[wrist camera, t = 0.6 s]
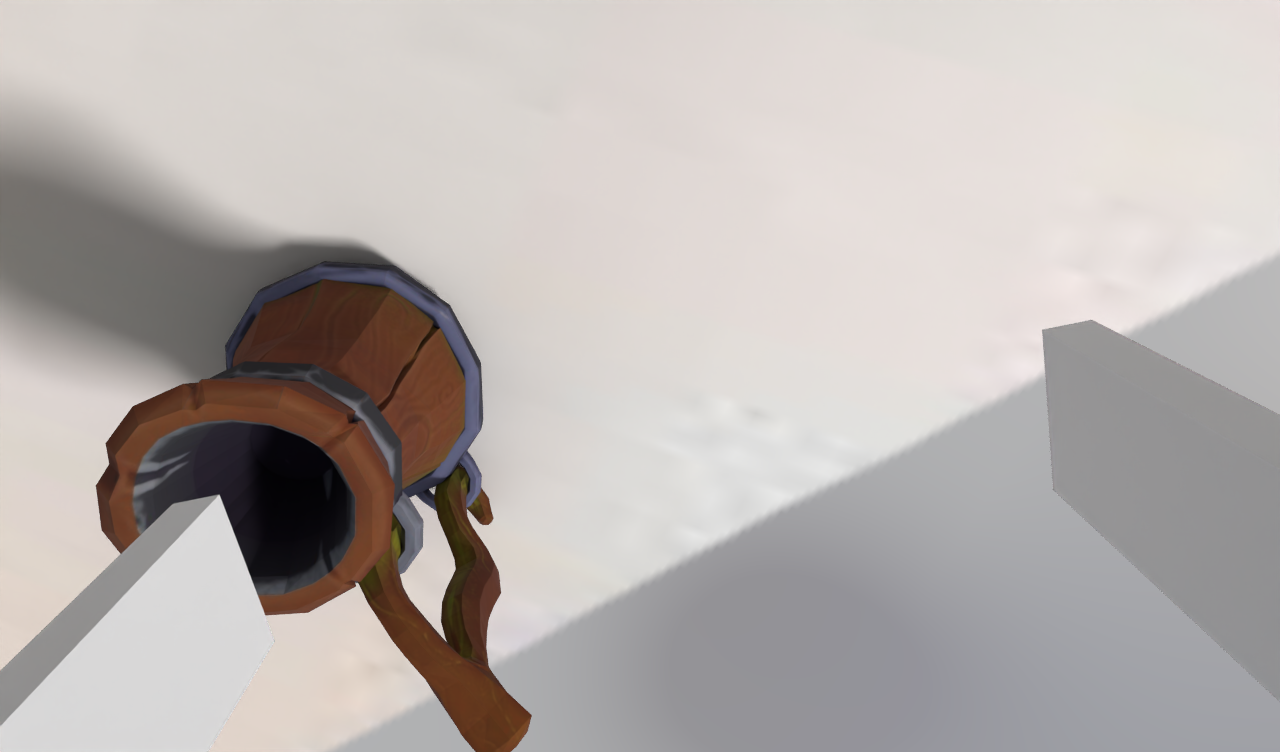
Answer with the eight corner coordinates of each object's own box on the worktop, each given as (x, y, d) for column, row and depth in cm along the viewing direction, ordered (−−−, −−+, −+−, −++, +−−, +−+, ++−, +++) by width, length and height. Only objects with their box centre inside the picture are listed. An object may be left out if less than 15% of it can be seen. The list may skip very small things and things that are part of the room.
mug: (630, 491, 44) (638, 684, 30) (453, 627, 46) (381, 869, 32) (364, 199, 40) (224, 262, 25) (181, 364, 42) (-44, 508, 27)
